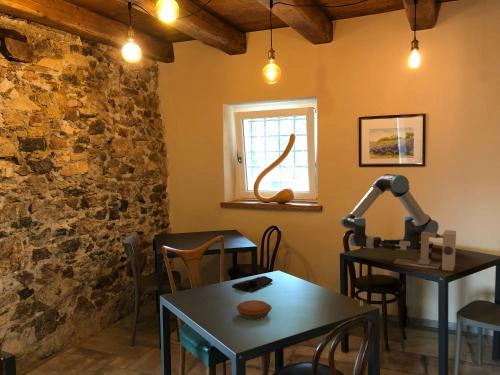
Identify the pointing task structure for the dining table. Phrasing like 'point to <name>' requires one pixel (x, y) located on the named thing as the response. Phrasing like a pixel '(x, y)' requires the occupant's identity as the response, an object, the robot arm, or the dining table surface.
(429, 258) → the coffee mug
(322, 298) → the dining table surface
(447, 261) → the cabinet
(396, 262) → the rail bed
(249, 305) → the pie
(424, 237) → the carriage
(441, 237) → the gauge plunger
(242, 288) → the dark slate chunk
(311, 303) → the dining table surface
